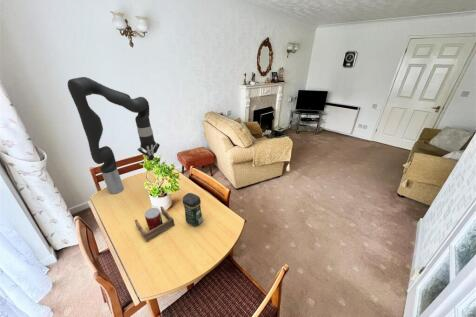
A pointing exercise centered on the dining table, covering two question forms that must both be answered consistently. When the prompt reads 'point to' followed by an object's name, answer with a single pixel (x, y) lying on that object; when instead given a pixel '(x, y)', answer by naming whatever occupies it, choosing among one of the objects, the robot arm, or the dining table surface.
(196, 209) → the coffee jar
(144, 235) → the corral
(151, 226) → the canned food
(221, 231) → the dining table surface
